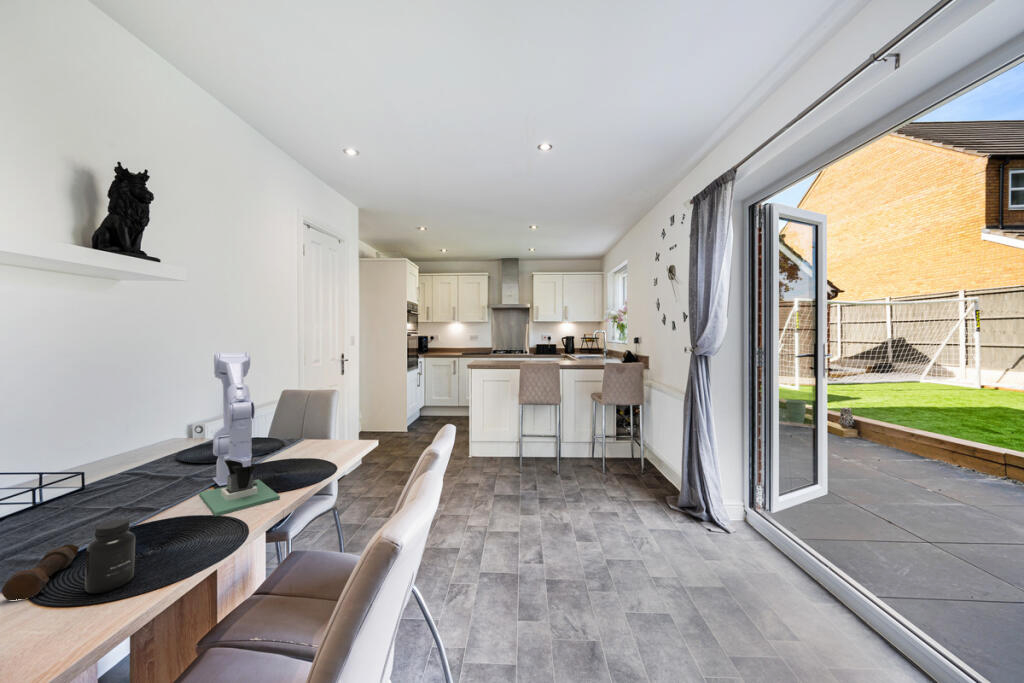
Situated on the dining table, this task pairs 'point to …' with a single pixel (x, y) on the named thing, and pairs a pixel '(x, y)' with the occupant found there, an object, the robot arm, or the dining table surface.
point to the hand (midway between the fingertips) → (239, 484)
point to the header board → (237, 498)
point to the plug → (236, 484)
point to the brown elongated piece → (38, 573)
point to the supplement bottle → (110, 557)
